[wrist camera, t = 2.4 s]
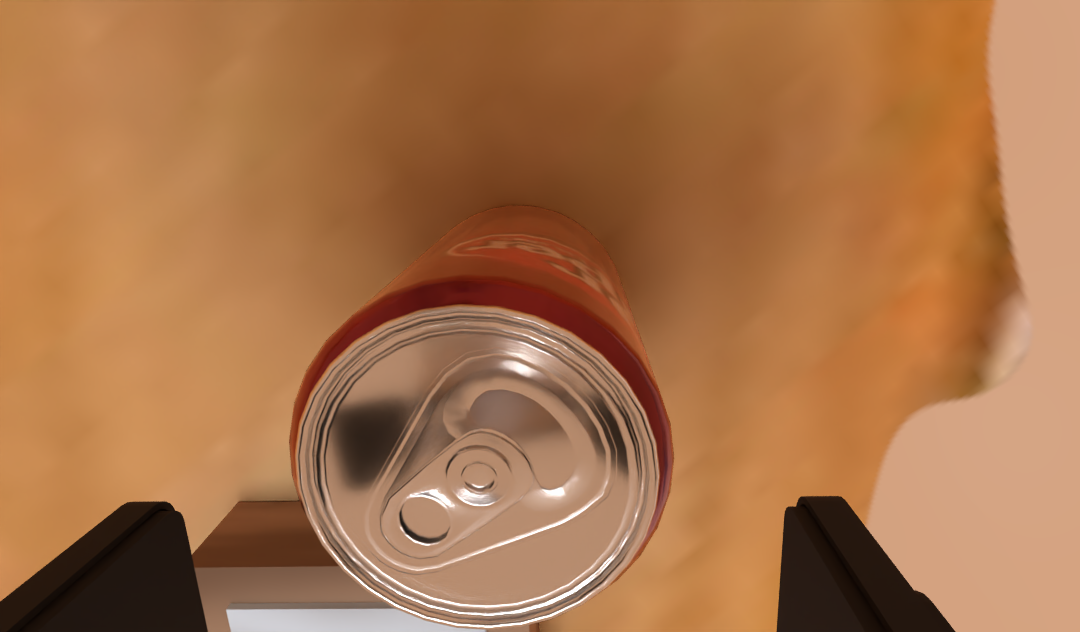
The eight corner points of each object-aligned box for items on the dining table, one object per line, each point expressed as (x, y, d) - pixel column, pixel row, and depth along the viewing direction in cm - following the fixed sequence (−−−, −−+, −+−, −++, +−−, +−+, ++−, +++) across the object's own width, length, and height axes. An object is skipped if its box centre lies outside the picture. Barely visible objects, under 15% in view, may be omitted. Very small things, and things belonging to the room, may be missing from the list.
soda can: (541, 159, 21) (511, 194, 10) (661, 324, 23) (759, 523, 11) (381, 283, 23) (190, 441, 11) (504, 430, 24) (447, 704, 13)
